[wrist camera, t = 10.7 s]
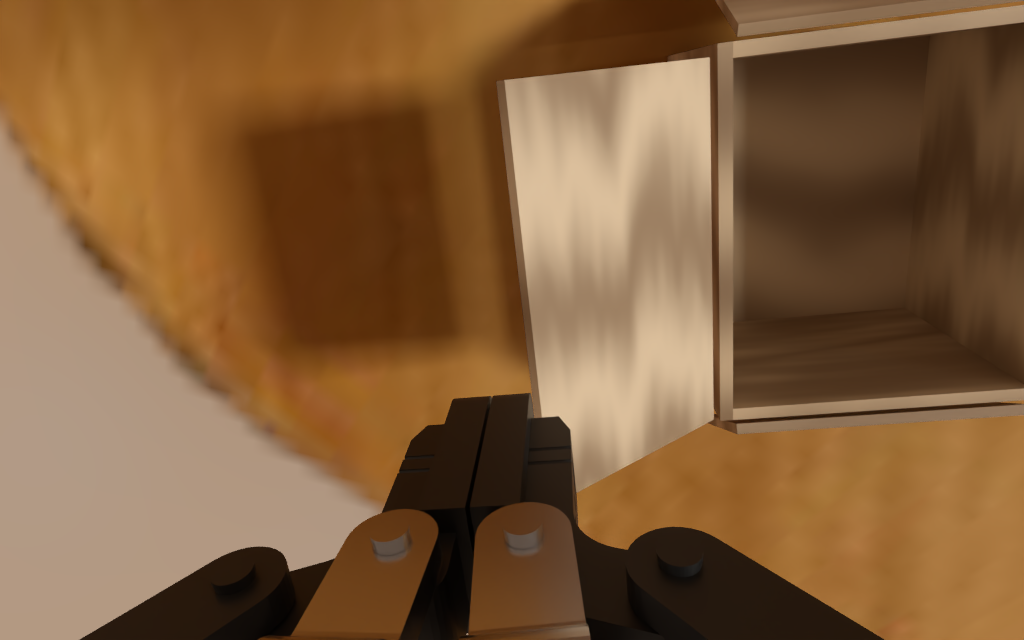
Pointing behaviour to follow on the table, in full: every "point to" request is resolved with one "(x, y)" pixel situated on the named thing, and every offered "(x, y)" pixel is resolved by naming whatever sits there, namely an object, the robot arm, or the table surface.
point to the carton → (866, 214)
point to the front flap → (614, 253)
